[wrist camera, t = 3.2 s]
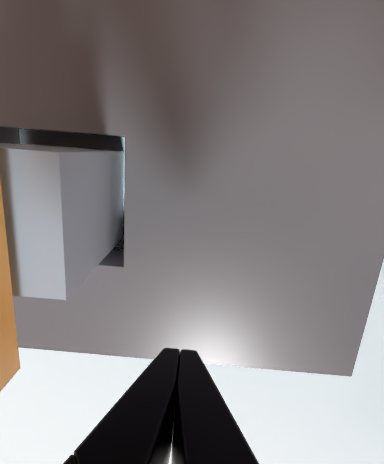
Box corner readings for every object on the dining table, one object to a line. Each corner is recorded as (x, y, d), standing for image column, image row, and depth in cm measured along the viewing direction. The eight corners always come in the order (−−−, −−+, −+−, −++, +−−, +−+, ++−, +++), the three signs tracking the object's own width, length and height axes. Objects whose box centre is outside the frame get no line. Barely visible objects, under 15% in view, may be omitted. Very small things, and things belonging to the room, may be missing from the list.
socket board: (439, -92, 10) (494, -148, 8) (332, 347, 15) (351, 376, 13) (-180, -134, 10) (-266, -197, 9) (-86, 311, 15) (-127, 334, 13)
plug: (123, 151, 13) (59, 152, 7) (122, 237, 14) (66, 299, 8) (33, 144, 13) (-104, 139, 7) (39, 230, 14) (-75, 288, 8)
